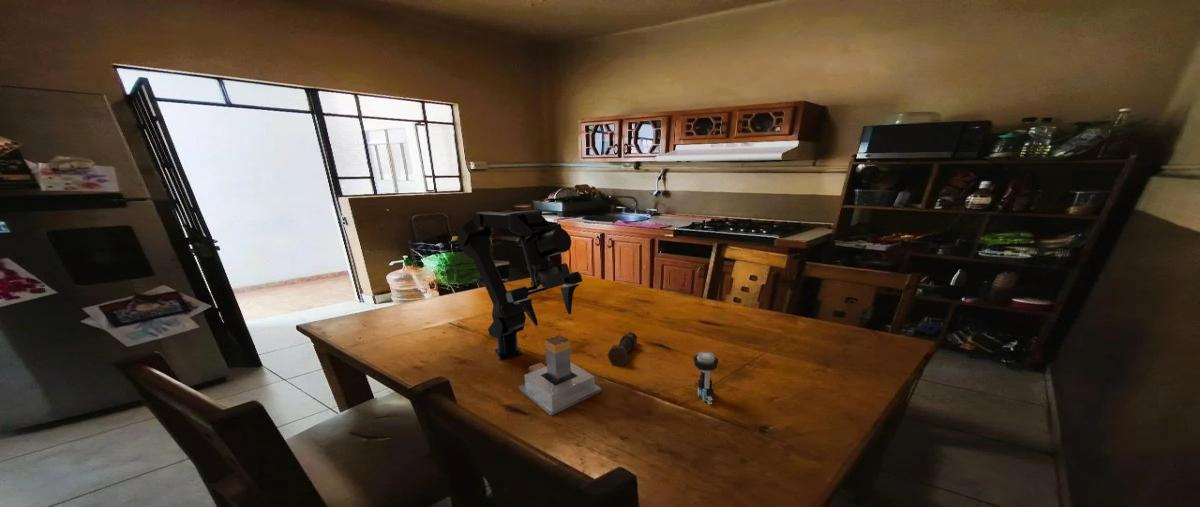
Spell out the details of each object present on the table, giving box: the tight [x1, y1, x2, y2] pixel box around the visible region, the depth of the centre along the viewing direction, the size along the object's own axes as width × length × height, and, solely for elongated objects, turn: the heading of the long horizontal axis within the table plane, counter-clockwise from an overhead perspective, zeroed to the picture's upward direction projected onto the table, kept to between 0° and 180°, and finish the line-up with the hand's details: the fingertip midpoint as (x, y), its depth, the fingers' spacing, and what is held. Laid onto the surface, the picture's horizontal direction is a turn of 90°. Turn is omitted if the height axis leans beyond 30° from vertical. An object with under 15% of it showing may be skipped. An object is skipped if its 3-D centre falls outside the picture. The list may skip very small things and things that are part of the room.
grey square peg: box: [544, 334, 571, 386], centre depth 89 cm, size 4×4×12 cm
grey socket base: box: [518, 361, 602, 417], centre depth 92 cm, size 18×14×4 cm
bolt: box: [607, 332, 638, 367], centre depth 108 cm, size 6×5×15 cm
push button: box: [692, 351, 719, 405], centre depth 85 cm, size 7×5×10 cm
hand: (553, 319), depth 96 cm, fingers open, 9 cm apart
